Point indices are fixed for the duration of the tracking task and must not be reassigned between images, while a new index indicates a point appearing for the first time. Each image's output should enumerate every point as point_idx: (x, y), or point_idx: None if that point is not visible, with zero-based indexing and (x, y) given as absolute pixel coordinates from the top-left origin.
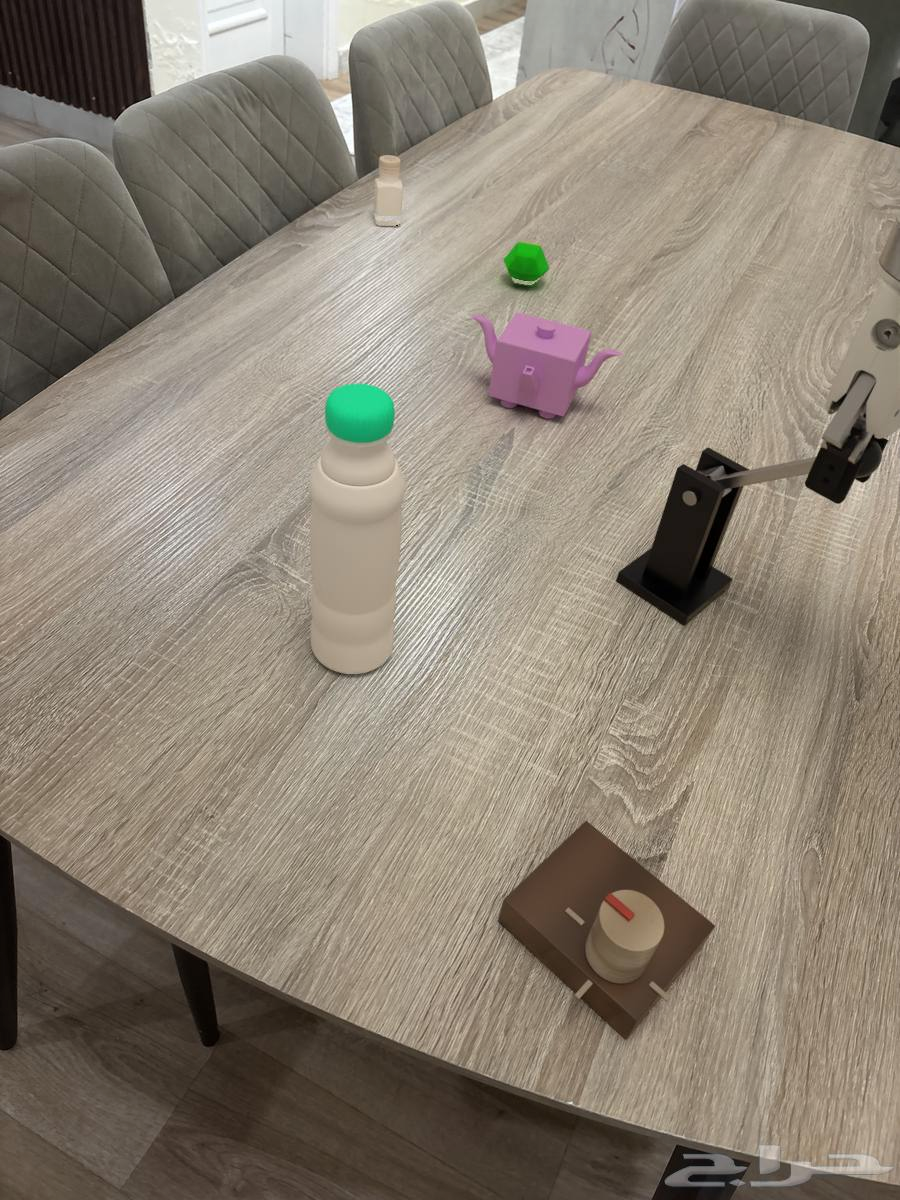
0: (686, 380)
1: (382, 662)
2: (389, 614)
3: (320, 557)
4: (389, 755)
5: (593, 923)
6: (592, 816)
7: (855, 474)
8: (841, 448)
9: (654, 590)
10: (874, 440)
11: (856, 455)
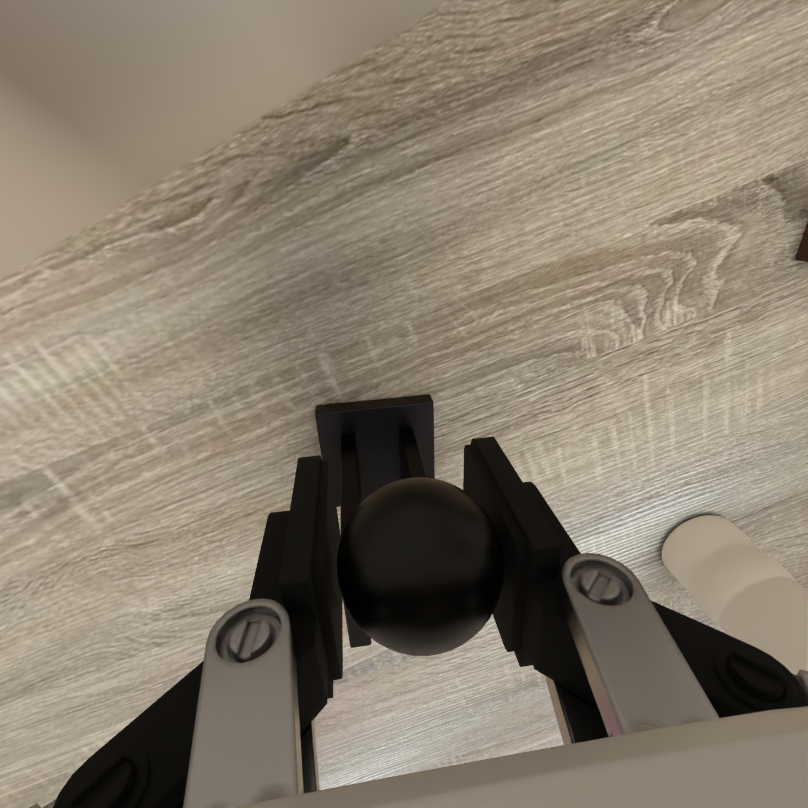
0: (9, 690)
1: (706, 518)
2: (750, 565)
3: None
4: (782, 440)
5: None
6: (756, 272)
7: (536, 506)
8: (805, 672)
9: (426, 453)
10: (404, 617)
11: (646, 597)
